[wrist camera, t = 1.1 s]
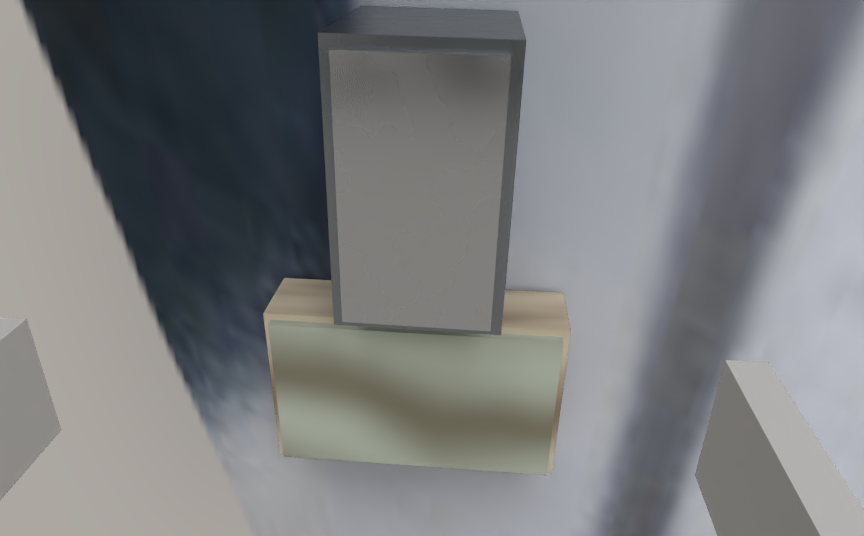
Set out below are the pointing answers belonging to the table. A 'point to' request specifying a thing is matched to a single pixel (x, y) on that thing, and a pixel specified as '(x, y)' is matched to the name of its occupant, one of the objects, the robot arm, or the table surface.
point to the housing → (420, 164)
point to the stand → (418, 385)
